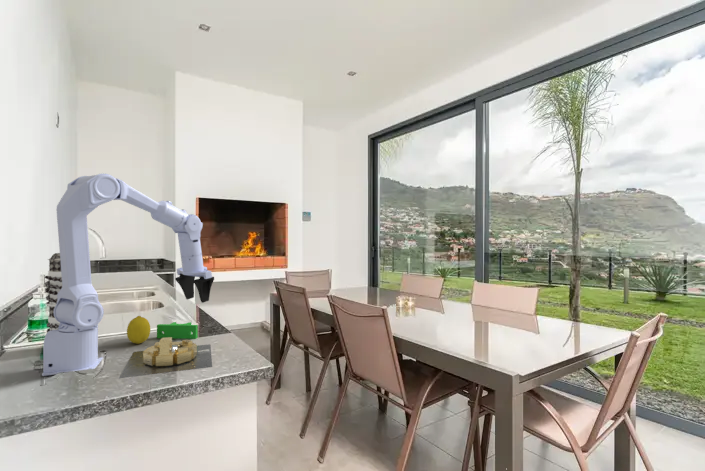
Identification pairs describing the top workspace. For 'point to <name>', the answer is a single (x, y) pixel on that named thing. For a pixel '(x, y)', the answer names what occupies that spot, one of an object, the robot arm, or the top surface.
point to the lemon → (138, 330)
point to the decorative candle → (53, 289)
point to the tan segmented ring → (169, 352)
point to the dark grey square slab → (139, 368)
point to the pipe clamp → (177, 331)
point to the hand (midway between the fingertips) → (197, 299)
